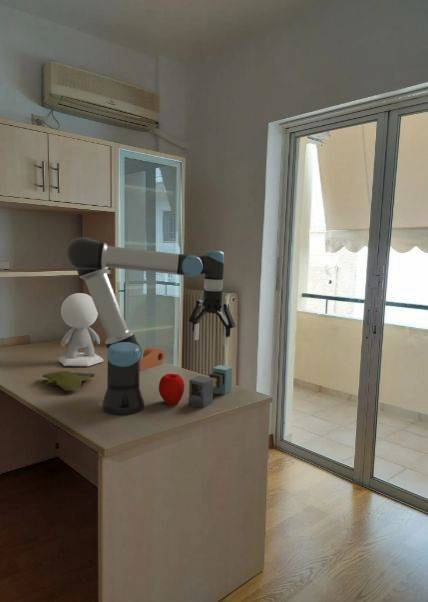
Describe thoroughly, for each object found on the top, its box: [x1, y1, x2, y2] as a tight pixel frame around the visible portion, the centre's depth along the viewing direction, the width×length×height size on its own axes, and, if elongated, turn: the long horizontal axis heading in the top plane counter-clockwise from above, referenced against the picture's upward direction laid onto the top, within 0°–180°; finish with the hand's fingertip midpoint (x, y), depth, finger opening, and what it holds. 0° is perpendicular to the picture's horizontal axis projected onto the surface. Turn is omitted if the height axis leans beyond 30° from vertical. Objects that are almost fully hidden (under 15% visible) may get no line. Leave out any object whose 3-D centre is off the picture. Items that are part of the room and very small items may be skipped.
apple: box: [158, 373, 185, 406], centre depth 170 cm, size 10×10×12 cm
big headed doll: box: [57, 292, 105, 367], centre depth 227 cm, size 20×23×35 cm
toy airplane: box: [41, 370, 95, 392], centre depth 192 cm, size 28×22×5 cm
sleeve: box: [188, 375, 214, 409], centre depth 170 cm, size 7×6×10 cm
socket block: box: [212, 364, 233, 396], centre depth 185 cm, size 6×6×11 cm
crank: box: [140, 346, 166, 372], centre depth 224 cm, size 20×8×8 cm, turn 150°
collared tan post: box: [199, 372, 224, 391], centre depth 178 cm, size 16×5×5 cm, turn 151°
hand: (210, 342), depth 179 cm, fingers open, 13 cm apart
